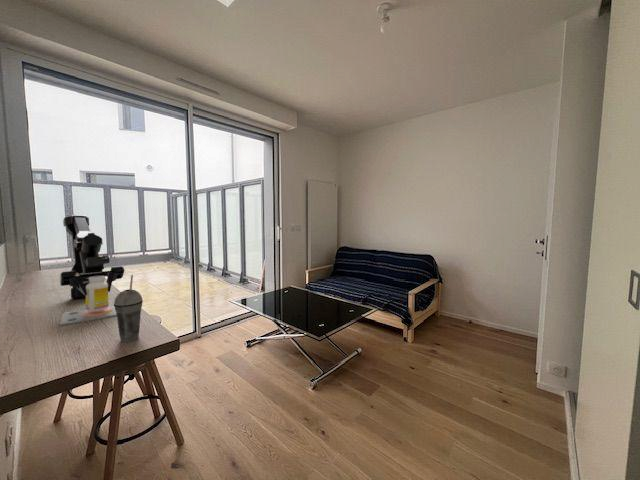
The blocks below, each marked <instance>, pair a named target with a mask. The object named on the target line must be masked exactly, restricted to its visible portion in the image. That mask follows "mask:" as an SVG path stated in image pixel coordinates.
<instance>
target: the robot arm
mask: <svg viewBox="0 0 640 480" xmlns="http://www.w3.org/2000/svg"><path fill="white" fill-rule="evenodd" d="M62 222H63V223H62V224H63V227H65V231H66V232H67V233H68V234H69V235H70V236H71V245H72V252H73V259H74V260H73V261H74V263H73V264H74V265H73V267H72V268H71V270H67V271H62V272H61V273H60V276H59V277H60V278H59V284H60V286H61V287H66V286H69V287H71V288H70V297H71V299H72V300H83V299H86V295H87V294H86V289H85V287H86V285H87V284H89V283H90V282H89V277H92V276H105V277H107V279H106V283H107V284H108V293H110V292H111V288H112V285H113V284H112V283H113V282H115V281H117V280H120V279H122V278H124V274H125V268H124V267H123V266H121V265H119V266H112V267H111V268H110V270H105V271H104V269H105V266H104V265H105V264H110V262H111V260H110V256H109V254H103V255H102V256H100V255H99V253H100V251H101V248H102V245H103V244H104V243H103V238H102V237H101V236H100V235H97V234H95V233H94V232H91V230H90V217H88V216H87V215H84V214H73V215H69V216H66V217H64V218H63V221H62Z"/></svg>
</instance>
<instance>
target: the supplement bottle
mask: <svg viewBox="0 0 640 480" xmlns="http://www.w3.org/2000/svg"><path fill="white" fill-rule="evenodd" d="M105 280H106V276H92V277H89V282H90V283H89V284H87V285H86V287H85V289H86V294H87V295H86V298H85V309H86V311H89V312H95V311H101V310H105V309H107V308H108V306H109V292H108V284H107V281H105Z"/></svg>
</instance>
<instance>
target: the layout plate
mask: <svg viewBox="0 0 640 480" xmlns="http://www.w3.org/2000/svg"><path fill="white" fill-rule="evenodd" d="M113 317H117V314H116V311H115V306H114V304H111V305H108V308H107V309H105V310H101V311H95V312H89V311H86V308H85V309H79V310H73V311H66V312H62V316H61V318H60V322H59V327H62V326H66V325H73V324H78V323H83V322H84V323H85V322H90V321H95V320H101V319H108V318H113Z"/></svg>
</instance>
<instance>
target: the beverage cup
mask: <svg viewBox="0 0 640 480" xmlns="http://www.w3.org/2000/svg"><path fill="white" fill-rule="evenodd" d="M133 279H134V275H133V274H131V275H130V282H129V283H130V284H129V289H125V290H122V291H120V292H119V293H118V294H117V295H116V297H115V298H114V301H113V305H114V306H115V311H116V314H117V316H116V318H117V319H116V320H117V328H118V333H119V339H120V342H121V343H130V342H133V341H137V339H139V335H140V329H141V328H140V326H141V314H142V313H141V312H142V307H143V303H144V300H143V297H142V295H141V293H140V292H139V291H137V290H135V289H133V281H134V280H133Z"/></svg>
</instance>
